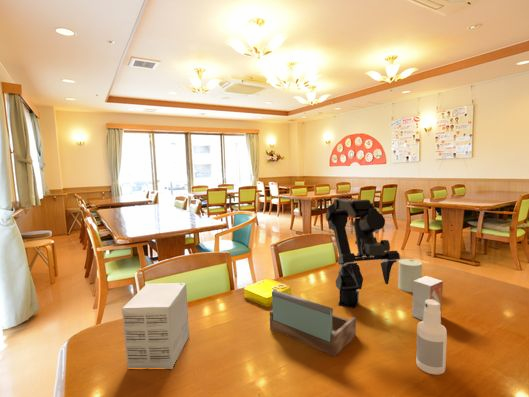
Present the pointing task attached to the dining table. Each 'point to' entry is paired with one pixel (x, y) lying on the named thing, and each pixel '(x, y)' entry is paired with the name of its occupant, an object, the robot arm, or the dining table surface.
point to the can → (409, 273)
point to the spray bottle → (431, 340)
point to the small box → (426, 294)
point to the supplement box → (156, 325)
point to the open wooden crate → (340, 338)
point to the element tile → (265, 291)
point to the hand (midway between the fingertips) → (372, 285)
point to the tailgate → (303, 315)
